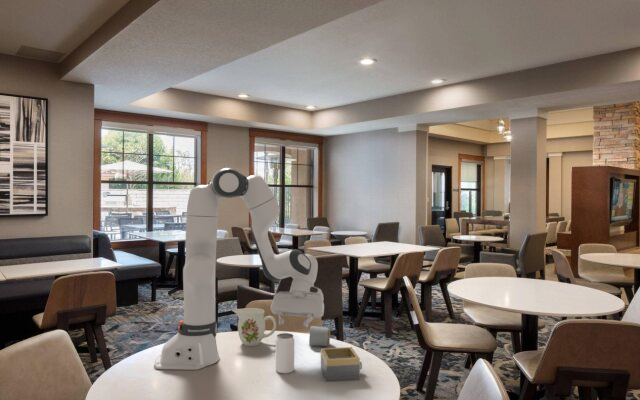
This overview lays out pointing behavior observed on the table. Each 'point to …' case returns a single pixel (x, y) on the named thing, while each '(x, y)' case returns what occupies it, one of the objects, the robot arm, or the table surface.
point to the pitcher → (252, 325)
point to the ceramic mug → (319, 336)
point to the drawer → (340, 364)
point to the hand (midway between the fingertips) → (292, 325)
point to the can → (284, 353)
